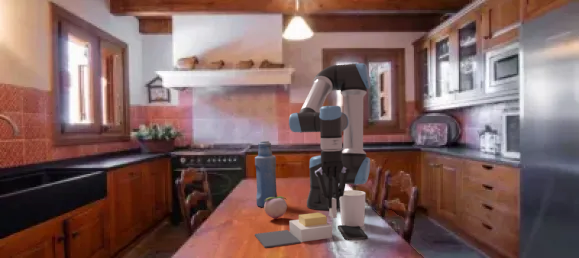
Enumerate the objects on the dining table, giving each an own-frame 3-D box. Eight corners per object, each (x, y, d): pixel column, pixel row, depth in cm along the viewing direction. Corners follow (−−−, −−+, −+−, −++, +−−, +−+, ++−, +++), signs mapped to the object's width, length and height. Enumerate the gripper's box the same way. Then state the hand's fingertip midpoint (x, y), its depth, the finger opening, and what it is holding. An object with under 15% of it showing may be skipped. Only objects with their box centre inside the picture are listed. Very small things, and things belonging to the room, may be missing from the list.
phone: (344, 238, 126) (337, 225, 141) (345, 241, 126) (337, 228, 141) (368, 237, 126) (358, 224, 141) (368, 240, 126) (358, 227, 141)
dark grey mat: (287, 231, 138) (287, 229, 138) (300, 243, 124) (300, 241, 124) (254, 235, 134) (254, 233, 134) (264, 247, 121) (264, 246, 120)
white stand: (318, 228, 140) (318, 217, 140) (332, 237, 129) (331, 225, 129) (289, 231, 137) (289, 220, 137) (301, 241, 125) (301, 229, 125)
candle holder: (357, 220, 150) (356, 189, 150) (371, 226, 141) (370, 193, 140) (334, 223, 146) (334, 191, 146) (347, 229, 137) (347, 196, 137)
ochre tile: (319, 219, 137) (319, 212, 137) (326, 223, 131) (326, 216, 131) (298, 221, 135) (298, 214, 135) (304, 226, 129) (304, 219, 129)
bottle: (280, 206, 177) (278, 141, 176) (259, 208, 173) (257, 142, 172) (273, 202, 186) (271, 140, 185) (253, 204, 182) (251, 141, 181)
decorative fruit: (271, 223, 148) (270, 197, 148) (261, 219, 155) (260, 194, 155) (291, 219, 153) (291, 194, 153) (281, 215, 160) (281, 191, 160)
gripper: (318, 151, 129) (320, 221, 130) (353, 149, 133) (354, 217, 134) (310, 150, 136) (311, 216, 137) (343, 148, 140) (344, 212, 141)
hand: (333, 216), depth 135 cm, fingers closed
